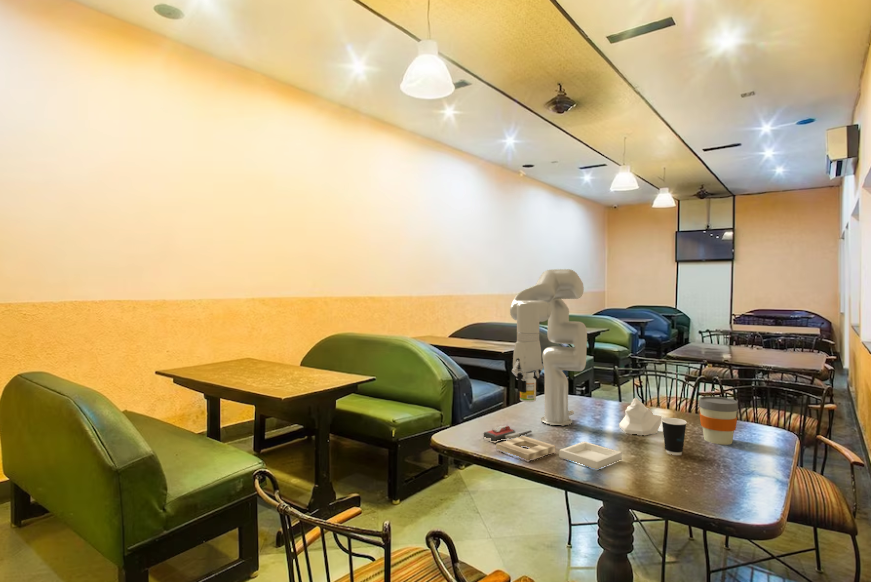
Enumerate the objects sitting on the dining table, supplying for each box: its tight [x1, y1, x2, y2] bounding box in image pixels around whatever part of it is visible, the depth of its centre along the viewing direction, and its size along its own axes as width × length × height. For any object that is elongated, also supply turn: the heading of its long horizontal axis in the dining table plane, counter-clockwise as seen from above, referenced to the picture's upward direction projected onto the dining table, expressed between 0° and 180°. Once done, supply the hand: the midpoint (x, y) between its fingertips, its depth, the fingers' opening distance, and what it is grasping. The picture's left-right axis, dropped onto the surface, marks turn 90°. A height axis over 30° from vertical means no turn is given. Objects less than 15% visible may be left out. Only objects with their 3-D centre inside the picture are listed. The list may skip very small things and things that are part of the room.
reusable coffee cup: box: [698, 395, 739, 445], centre depth 176 cm, size 13×13×15 cm
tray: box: [558, 441, 623, 469], centre depth 156 cm, size 14×14×3 cm
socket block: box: [495, 435, 556, 460], centre depth 163 cm, size 14×14×2 cm
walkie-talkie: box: [483, 424, 532, 441], centre depth 180 cm, size 9×4×20 cm
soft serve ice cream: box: [618, 397, 662, 436], centre depth 186 cm, size 12×15×14 cm
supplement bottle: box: [519, 371, 537, 403], centre depth 163 cm, size 5×5×10 cm
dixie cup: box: [661, 417, 688, 456], centre depth 163 cm, size 8×8×11 cm
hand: (528, 390), depth 163 cm, fingers closed on supplement bottle, 5 cm apart
